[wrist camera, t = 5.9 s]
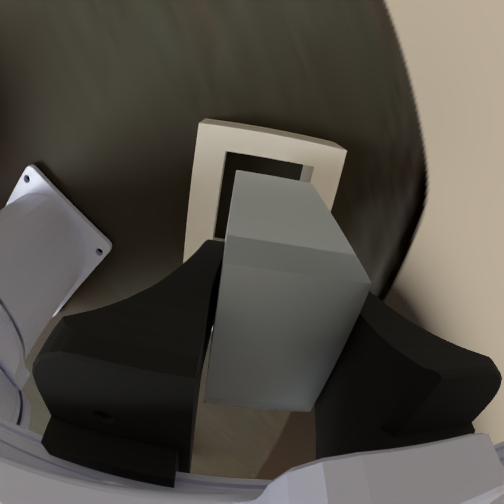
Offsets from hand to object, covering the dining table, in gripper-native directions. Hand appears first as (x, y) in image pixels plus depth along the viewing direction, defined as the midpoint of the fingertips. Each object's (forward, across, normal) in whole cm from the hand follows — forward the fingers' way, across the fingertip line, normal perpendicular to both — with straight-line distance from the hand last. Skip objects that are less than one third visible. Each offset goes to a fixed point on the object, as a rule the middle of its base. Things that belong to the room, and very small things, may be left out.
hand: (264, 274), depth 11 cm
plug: (+3, 0, 0) cm, 3 cm away
